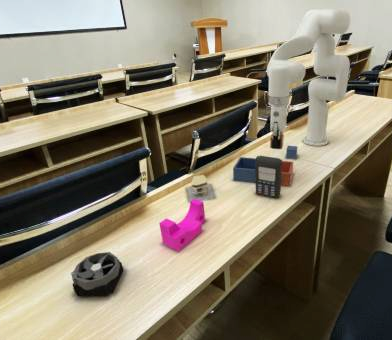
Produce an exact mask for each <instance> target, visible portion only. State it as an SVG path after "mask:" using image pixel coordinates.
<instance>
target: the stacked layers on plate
mask: <svg viewBox="0 0 392 340" xmlns="http://www.w3.org/2000/svg"><path fill="white" fill-rule="evenodd" d="M191 179H192V180H191V184H190V185H191V186H190V187H187V188H186V189H187V196H188V201H189V203H190V201H192V200H193V199H197V200H200V201H203V200H209V199H214V198H215V196H214V193H213V189H212V186H211V184H209V183H208V178H206V176H205V175H204V174H201V175H194V176H193V177H192V178H191Z"/></svg>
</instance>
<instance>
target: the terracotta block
mask: <svg viewBox="0 0 392 340" xmlns="http://www.w3.org/2000/svg"><path fill="white" fill-rule="evenodd" d="M271 133H272V134H273V132H271ZM272 134H271V135H270V143H269V148H270V149H272ZM280 139H281V141H280V149H279V150H283V147H284V141H285V134H284V133H282V134H280Z"/></svg>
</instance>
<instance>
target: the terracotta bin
mask: <svg viewBox="0 0 392 340" xmlns="http://www.w3.org/2000/svg"><path fill="white" fill-rule="evenodd" d="M293 174H294V161H290V160H289V161H288V160H282V174H281V187H291V182H292V180H293V179H292V178H293Z"/></svg>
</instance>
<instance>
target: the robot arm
mask: <svg viewBox="0 0 392 340" xmlns="http://www.w3.org/2000/svg"><path fill="white" fill-rule="evenodd" d="M350 25H351V17H350V13H349V12H348V11H346V10H342V9H337V8H314V9H313V8H312V9H310V10H308V11H307V12H306V13H305V14H304V16H303V18H302V20H301V22H300V24H299V25H298V27H297V30H296V32H295V34H294V36H293V37H291V38H289V39H288V40H286V41H285V42H283V43H282V44H281V45H279V46H278V47H277V48H276V49H275V50H274V52H273V53H272V56H271V57H270V59H269V61H268V63H267V68H266V75H267V77H268V100H267V104H268V105H269V106H270V119H269V120H270V122H269V123H270V125H269V127H270V129H269V130H270V132H271V133H273V134H271V135H272V148H271V149H272V150H281V149H280V141H281V139H280V134H284V132H285V130H286V128H287V114H288V113H287V107H288V106H289V105H290V89H291V84H297V83H300V82H302V81H303V79H304V78H305V76H306V73H307V72H306V66H305V65H304V63H302V62H300V61H293V60H289V59H291V58H294V57H297V56H300V55H304V54H306V53H308V52H310V51H312V50H313V49H314V48H315V51H314V60H313V72H314V73H315V75H317V76H322V78H319V77H318V78H313V79H312V80H310V82H309V84H308V87H307V89H308V91H307V92H308V93H307V94H308V112H307V124H306V136H303V138H302V141H303V143H304V144H306V145H309V146H315V147H321V146H322V147H323V146H326V145H327V144H328V143H329V138H327V137H326V135H327V127H328V118H329V105H328V102H327V101H330V102H337V103H338V102H342V101H343V100H344V99H345V97H346V94H347V88H348V81H349V74H350V68H351V67H350V66H351V63H350V59H349V57H348V56H347V55H346V54H345V55H344V54H336V53H335V49H336V39H335V37H334V36H333V35H343V34H345V33H347V31H348V30H349V28H350ZM323 77H329V78H323ZM331 77H332V78H335V79H330V78H331Z"/></svg>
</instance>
